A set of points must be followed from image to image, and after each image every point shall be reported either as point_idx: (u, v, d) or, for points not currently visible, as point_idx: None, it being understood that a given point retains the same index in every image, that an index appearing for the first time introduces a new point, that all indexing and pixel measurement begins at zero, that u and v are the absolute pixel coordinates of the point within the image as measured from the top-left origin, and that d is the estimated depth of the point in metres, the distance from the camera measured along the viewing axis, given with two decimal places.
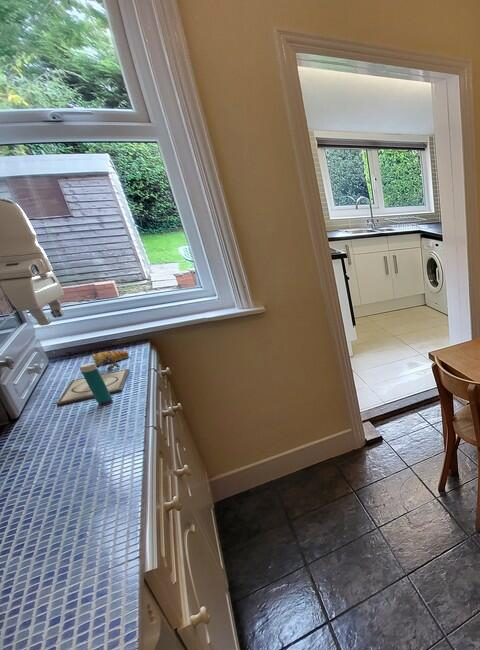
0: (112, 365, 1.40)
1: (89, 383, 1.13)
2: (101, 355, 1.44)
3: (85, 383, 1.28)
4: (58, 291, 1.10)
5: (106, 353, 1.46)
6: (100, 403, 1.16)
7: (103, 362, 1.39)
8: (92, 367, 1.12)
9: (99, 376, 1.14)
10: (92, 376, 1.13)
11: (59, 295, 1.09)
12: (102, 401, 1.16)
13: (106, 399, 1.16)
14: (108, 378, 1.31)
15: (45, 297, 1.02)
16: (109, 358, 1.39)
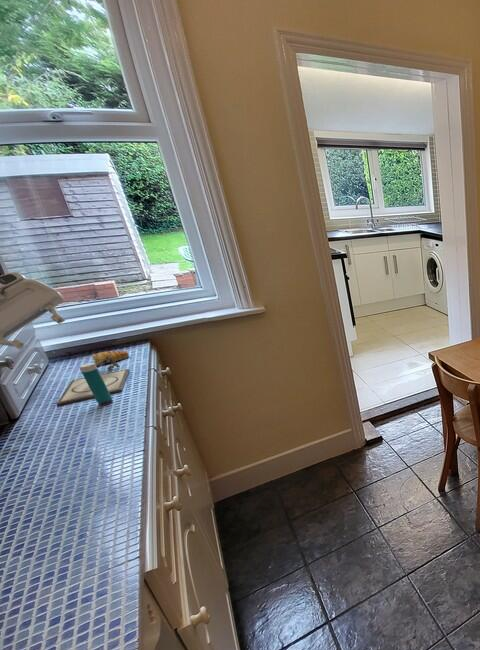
0: (112, 365, 1.40)
1: (89, 383, 1.13)
2: (101, 355, 1.44)
3: (85, 383, 1.28)
4: None
5: (106, 353, 1.46)
6: (100, 403, 1.16)
7: (103, 362, 1.39)
8: (92, 367, 1.12)
9: (99, 376, 1.14)
10: (92, 376, 1.13)
11: None
12: (102, 401, 1.16)
13: (106, 399, 1.16)
14: (108, 378, 1.31)
15: None
16: (109, 358, 1.39)
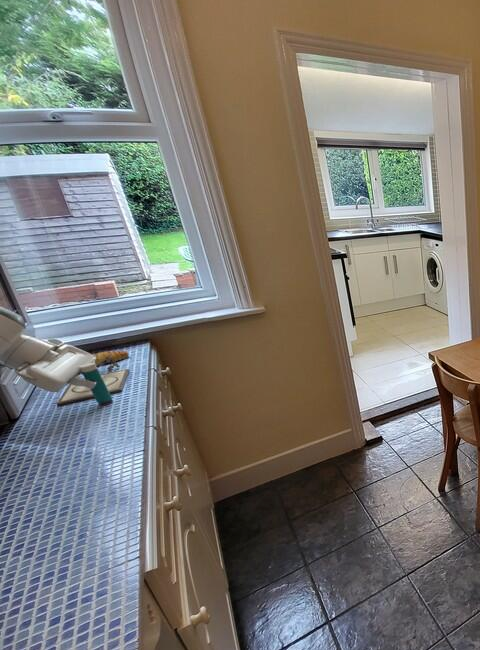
0: (112, 365, 1.40)
1: None
2: (101, 355, 1.44)
3: None
4: None
5: (106, 353, 1.46)
6: (100, 403, 1.16)
7: (103, 362, 1.39)
8: (92, 367, 1.12)
9: (99, 376, 1.14)
10: (92, 376, 1.13)
11: None
12: (102, 401, 1.16)
13: (106, 399, 1.16)
14: (108, 378, 1.31)
15: None
16: (109, 358, 1.39)
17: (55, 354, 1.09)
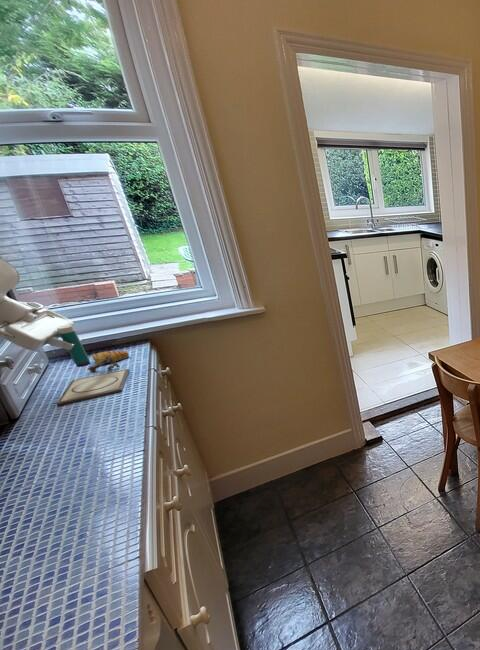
0: (112, 365, 1.40)
1: None
2: (101, 355, 1.44)
3: (85, 383, 1.28)
4: None
5: (106, 353, 1.46)
6: (78, 364, 1.21)
7: (103, 362, 1.39)
8: (70, 329, 1.18)
9: (77, 338, 1.20)
10: (70, 338, 1.18)
11: None
12: (80, 363, 1.21)
13: (84, 361, 1.21)
14: (108, 378, 1.31)
15: None
16: (109, 358, 1.39)
17: (33, 316, 1.14)
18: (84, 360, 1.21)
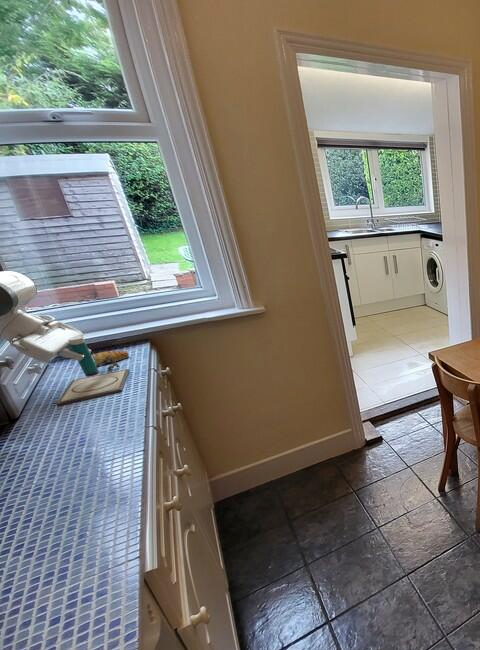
0: (112, 365, 1.40)
1: None
2: (101, 355, 1.44)
3: (85, 383, 1.28)
4: None
5: (106, 353, 1.46)
6: (87, 374, 1.26)
7: (103, 362, 1.39)
8: (80, 340, 1.23)
9: (86, 349, 1.25)
10: (80, 349, 1.23)
11: None
12: (89, 372, 1.26)
13: (92, 371, 1.27)
14: (108, 378, 1.31)
15: None
16: (109, 358, 1.39)
17: (46, 328, 1.19)
18: (93, 370, 1.27)
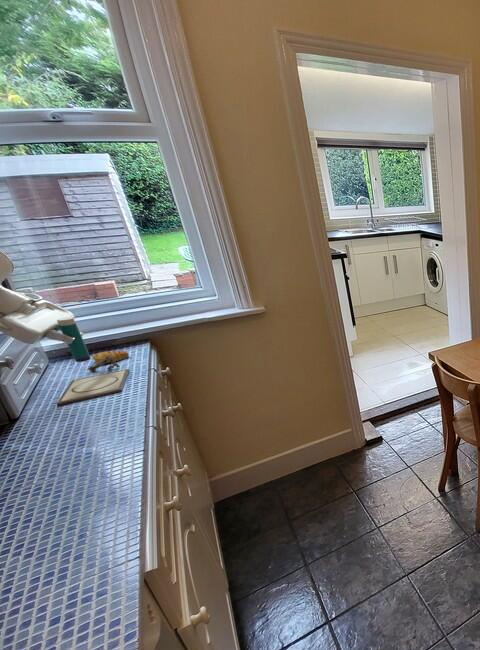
0: (112, 365, 1.40)
1: None
2: (101, 355, 1.44)
3: (85, 383, 1.28)
4: None
5: (106, 353, 1.46)
6: (77, 359, 1.13)
7: (103, 362, 1.39)
8: (71, 321, 1.10)
9: (77, 331, 1.12)
10: (70, 330, 1.11)
11: None
12: (80, 357, 1.13)
13: (83, 355, 1.14)
14: (108, 378, 1.31)
15: None
16: (109, 358, 1.39)
17: (31, 307, 1.07)
18: (84, 355, 1.14)
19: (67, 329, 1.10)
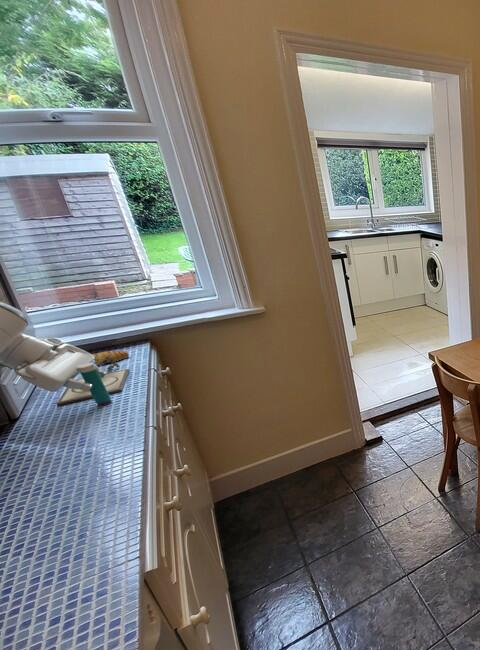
0: (112, 365, 1.40)
1: None
2: (101, 355, 1.44)
3: None
4: None
5: (106, 353, 1.46)
6: (99, 403, 1.15)
7: (103, 362, 1.39)
8: (91, 367, 1.12)
9: (98, 376, 1.14)
10: (91, 376, 1.12)
11: None
12: (101, 402, 1.15)
13: (105, 399, 1.16)
14: (108, 378, 1.31)
15: None
16: (109, 358, 1.39)
17: (54, 353, 1.08)
18: (105, 399, 1.16)
19: (88, 375, 1.12)
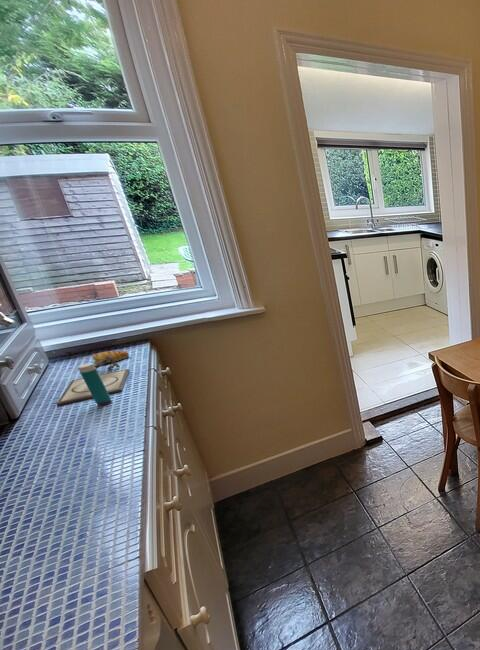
0: (112, 365, 1.40)
1: (88, 383, 1.13)
2: (101, 355, 1.44)
3: (85, 383, 1.28)
4: None
5: (106, 353, 1.46)
6: (99, 403, 1.15)
7: (103, 362, 1.39)
8: (91, 367, 1.12)
9: (98, 376, 1.14)
10: (91, 376, 1.12)
11: None
12: (101, 402, 1.15)
13: (105, 399, 1.16)
14: (108, 378, 1.31)
15: None
16: (109, 358, 1.39)
17: None
18: (105, 399, 1.16)
19: (88, 375, 1.12)
